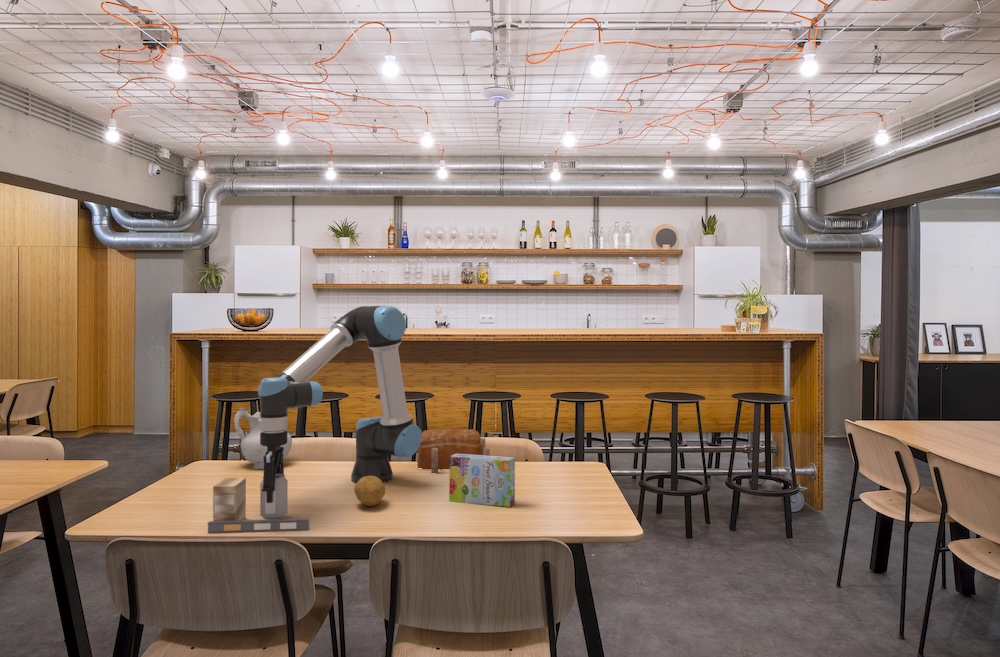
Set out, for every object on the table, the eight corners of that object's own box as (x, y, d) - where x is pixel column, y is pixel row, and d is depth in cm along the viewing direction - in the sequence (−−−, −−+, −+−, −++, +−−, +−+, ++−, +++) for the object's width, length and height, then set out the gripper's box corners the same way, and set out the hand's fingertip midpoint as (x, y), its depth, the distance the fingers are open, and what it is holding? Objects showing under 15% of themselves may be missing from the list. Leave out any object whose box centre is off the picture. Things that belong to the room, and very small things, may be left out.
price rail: (309, 528, 180) (309, 518, 180) (308, 530, 178) (308, 520, 178) (209, 531, 177) (209, 521, 177) (207, 533, 175) (207, 523, 175)
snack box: (515, 503, 205) (515, 456, 205) (510, 508, 200) (510, 460, 200) (455, 497, 212) (455, 452, 212) (448, 501, 207) (448, 455, 207)
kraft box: (245, 518, 189) (245, 477, 189) (235, 529, 179) (235, 486, 178) (224, 518, 188) (224, 478, 188) (212, 529, 178) (212, 486, 178)
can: (292, 513, 189) (292, 473, 189) (278, 521, 181) (278, 479, 181) (269, 512, 190) (269, 472, 190) (255, 519, 183) (255, 477, 183)
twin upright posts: (485, 461, 268) (485, 437, 268) (489, 474, 245) (490, 448, 245) (431, 462, 265) (431, 438, 265) (431, 475, 243) (431, 449, 243)
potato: (348, 511, 196) (348, 481, 196) (361, 499, 209) (361, 471, 209) (378, 512, 195) (379, 481, 195) (389, 500, 209) (389, 471, 209)
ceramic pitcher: (256, 476, 241) (256, 410, 241) (224, 470, 251) (224, 407, 251) (301, 465, 259) (301, 404, 259) (270, 460, 269) (270, 401, 269)
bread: (483, 471, 250) (483, 431, 250) (416, 472, 249) (416, 432, 249) (482, 463, 264) (482, 426, 264) (418, 464, 263) (418, 426, 263)
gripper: (269, 425, 195) (269, 500, 195) (250, 437, 175) (250, 520, 175) (294, 425, 196) (294, 499, 196) (278, 436, 176) (278, 519, 176)
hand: (273, 509), depth 186 cm, fingers closed on can, 7 cm apart
